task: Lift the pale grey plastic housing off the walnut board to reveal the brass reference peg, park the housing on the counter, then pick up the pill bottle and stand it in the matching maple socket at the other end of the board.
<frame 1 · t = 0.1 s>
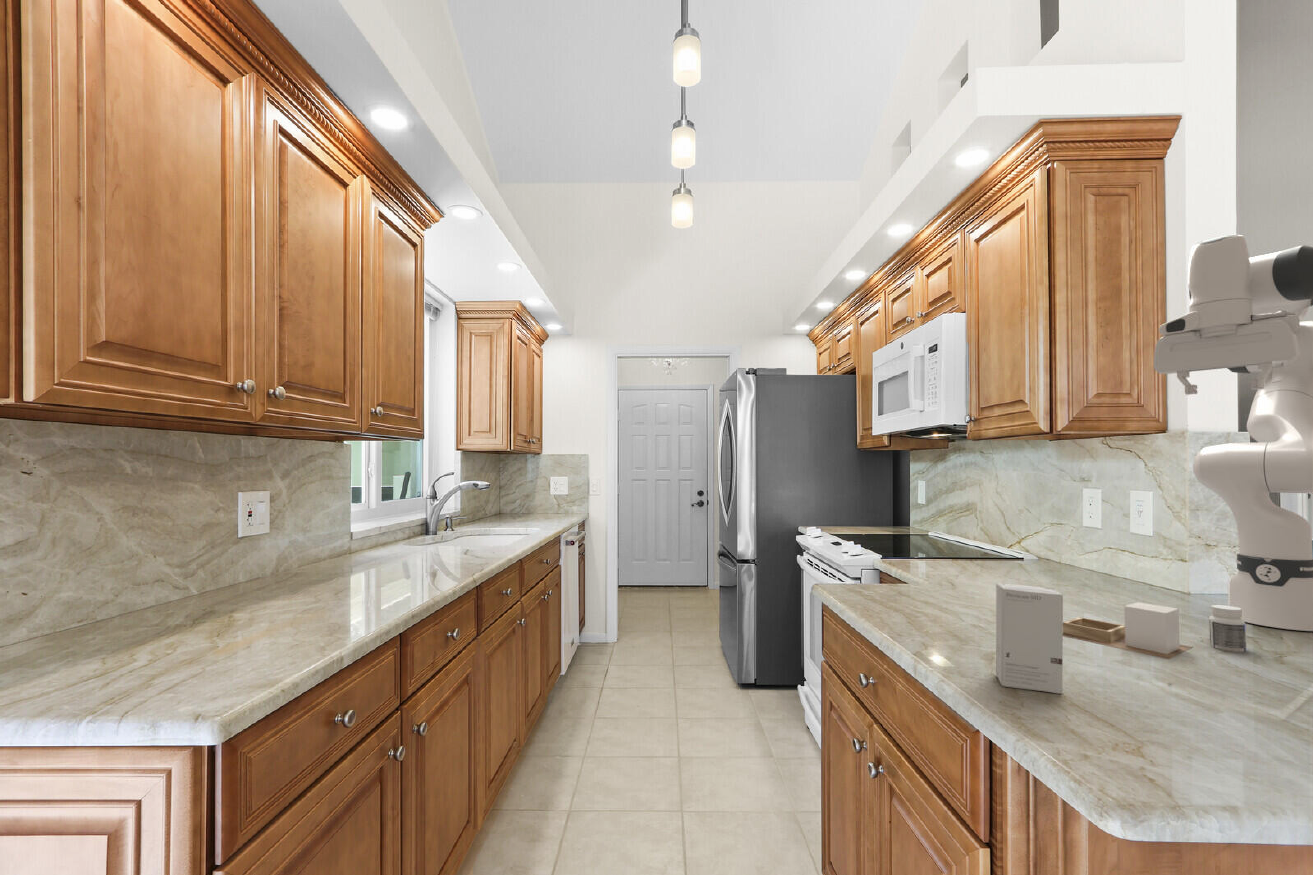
hand: (1223, 391, 114), 48 cm above the counter, fingers open, 8 cm apart
housing: (1152, 646, 108), point 1 cm above the counter, touching board
pill bottle: (1228, 655, 107), on the counter
skincare box: (1029, 685, 92), on the counter
board: (1122, 647, 111), on the counter
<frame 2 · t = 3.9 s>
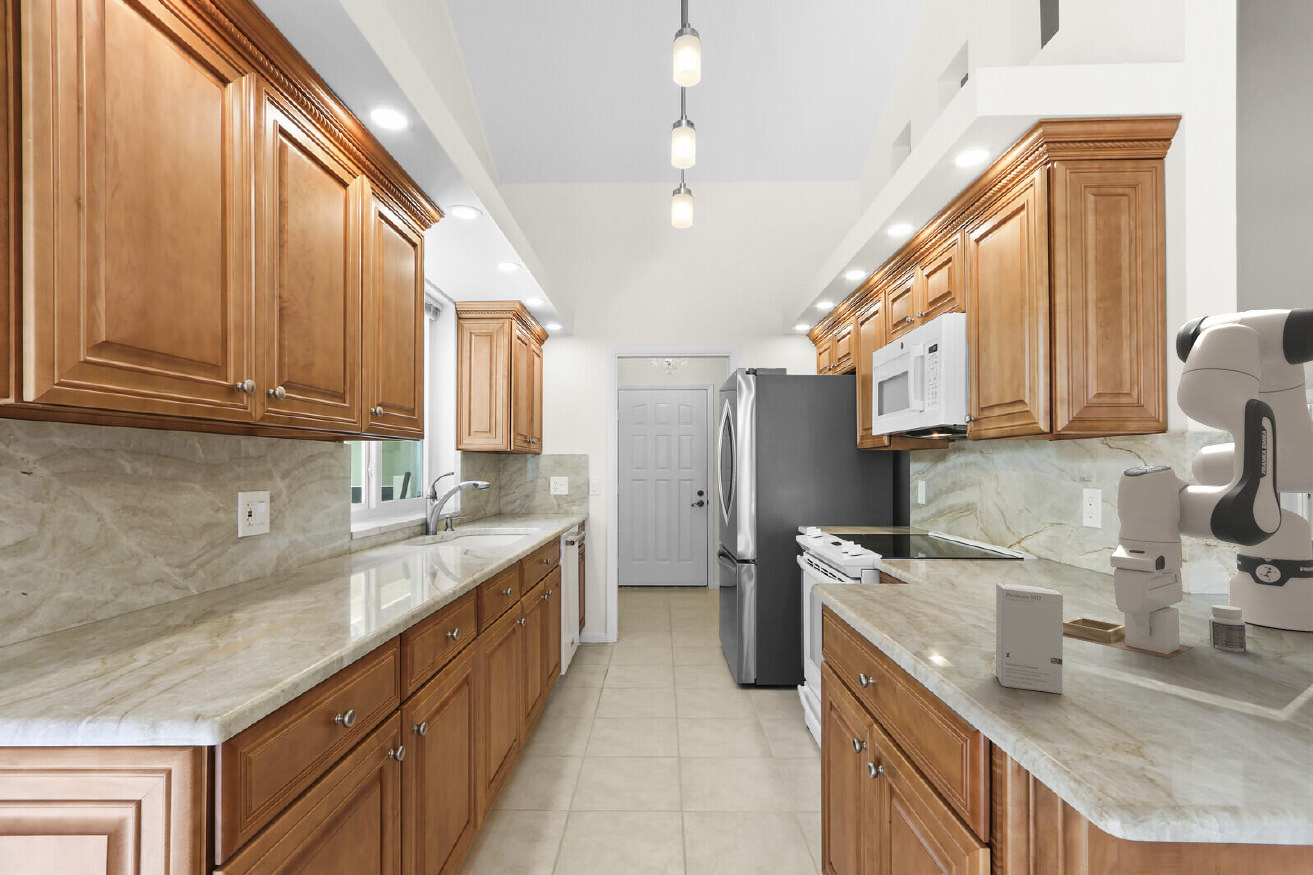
hand: (1152, 633, 108), 4 cm above the counter, fingers closed on housing, 6 cm apart
housing: (1152, 646, 108), point 1 cm above the counter, touching board, gripper
everything else where it was.
when the fingers open (4 cm above the counter, at t = 9.2 s): housing drops 2 cm, on the counter.
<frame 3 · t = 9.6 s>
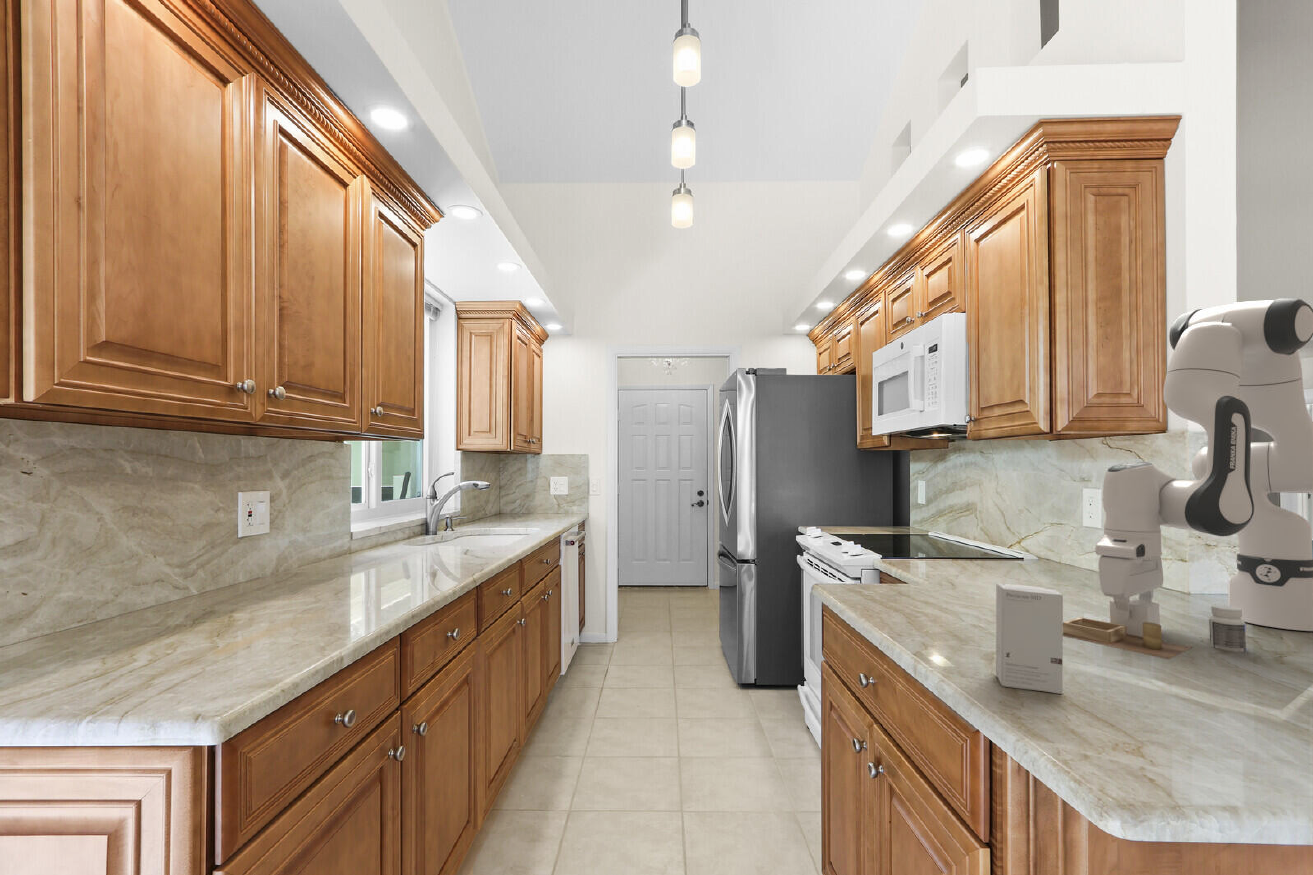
hand: (1134, 615, 117), 4 cm above the counter, fingers open, 8 cm apart
housing: (1135, 638, 117), on the counter
everything else where it was.
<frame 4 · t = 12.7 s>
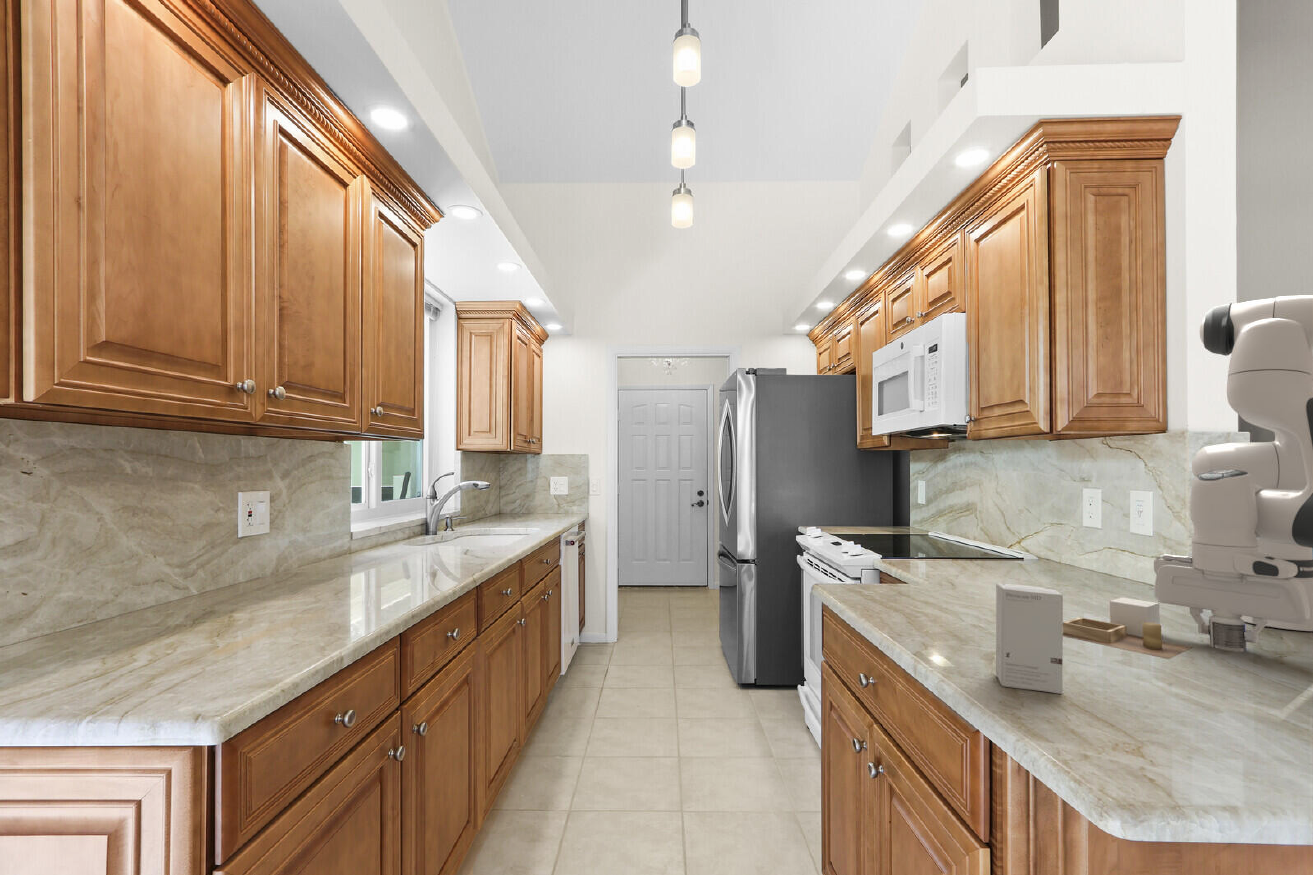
hand: (1227, 637, 107), 3 cm above the counter, fingers closed on pill bottle, 5 cm apart
pill bottle: (1228, 655, 107), on the counter, touching gripper
everything else where it was.
when the fingers open (6 cm above the counter, at t = 19.1 s): pill bottle stays where it is, resting on board.
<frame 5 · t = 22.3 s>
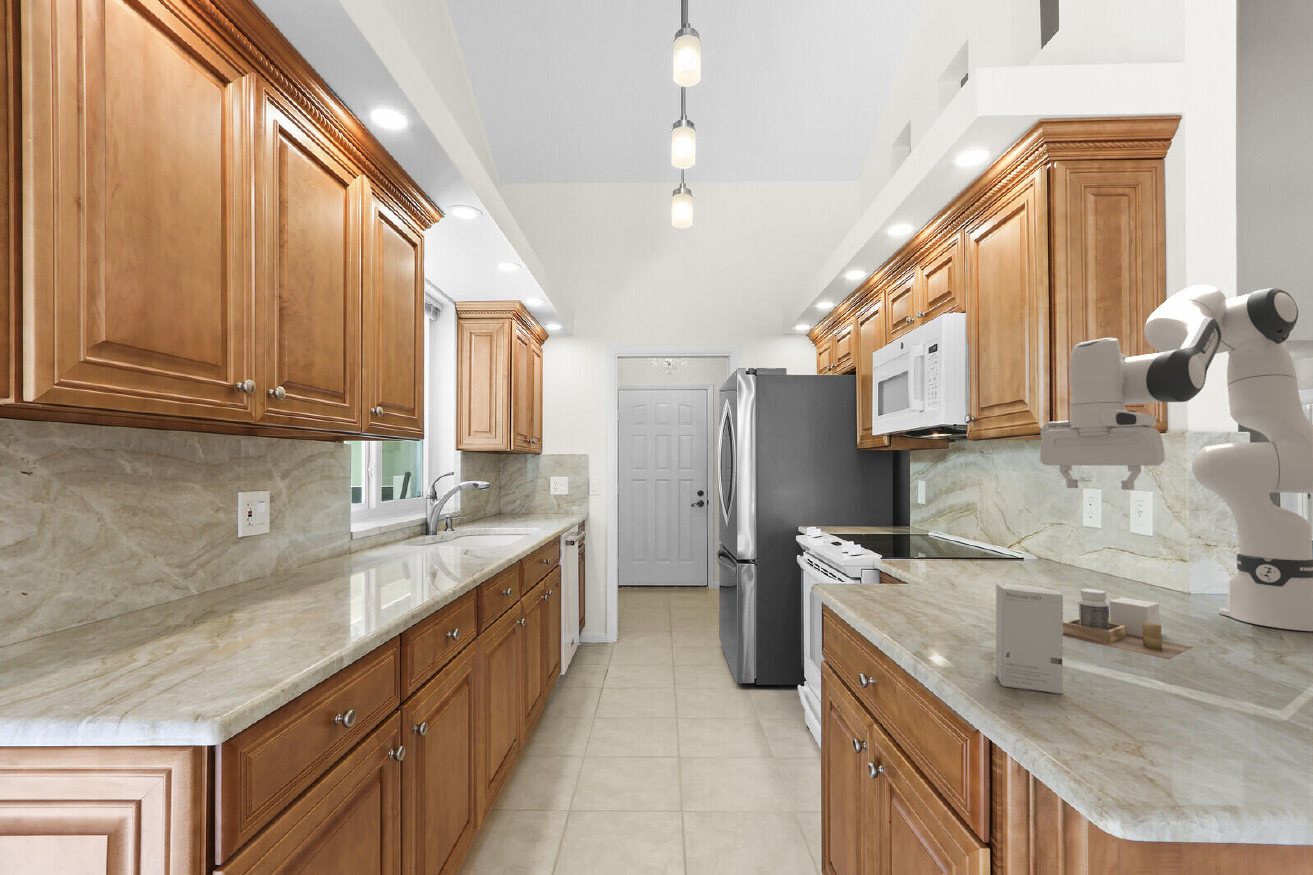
hand: (1099, 489, 118), 29 cm above the counter, fingers open, 8 cm apart
pill bottle: (1094, 635, 115), point 1 cm above the counter, touching board
everything else where it was.
at the end: pill bottle 0.0 cm from the target spot on the board, point 1.0 cm above the board's base; pill bottle tilted 0°; housing moved 10.6 cm from its start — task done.
